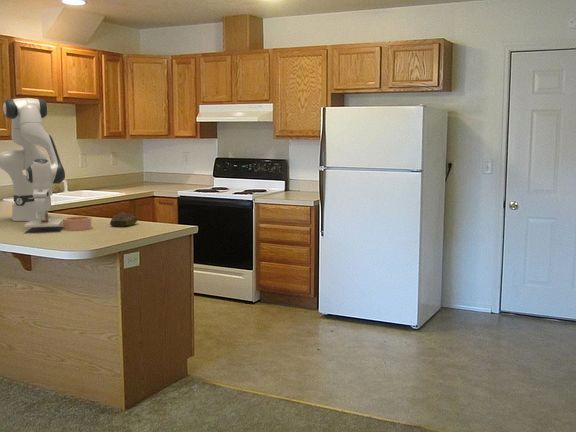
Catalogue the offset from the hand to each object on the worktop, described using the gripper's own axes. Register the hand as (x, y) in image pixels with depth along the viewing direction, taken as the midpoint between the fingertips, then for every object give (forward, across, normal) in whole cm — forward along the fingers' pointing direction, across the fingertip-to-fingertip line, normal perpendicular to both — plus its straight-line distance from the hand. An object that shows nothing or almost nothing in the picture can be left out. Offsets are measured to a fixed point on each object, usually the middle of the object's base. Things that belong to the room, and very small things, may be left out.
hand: (44, 219), depth 324 cm
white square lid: (+2, 0, 0) cm, 2 cm away
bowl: (+6, +1, +16) cm, 17 cm away
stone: (+6, -10, +38) cm, 40 cm away
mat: (+6, 0, 0) cm, 6 cm away
